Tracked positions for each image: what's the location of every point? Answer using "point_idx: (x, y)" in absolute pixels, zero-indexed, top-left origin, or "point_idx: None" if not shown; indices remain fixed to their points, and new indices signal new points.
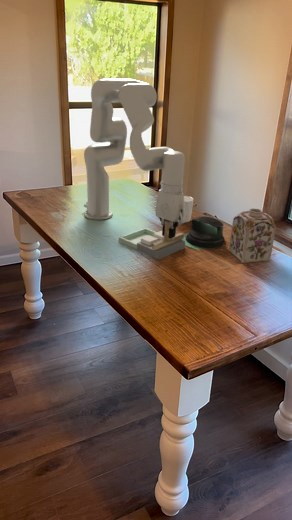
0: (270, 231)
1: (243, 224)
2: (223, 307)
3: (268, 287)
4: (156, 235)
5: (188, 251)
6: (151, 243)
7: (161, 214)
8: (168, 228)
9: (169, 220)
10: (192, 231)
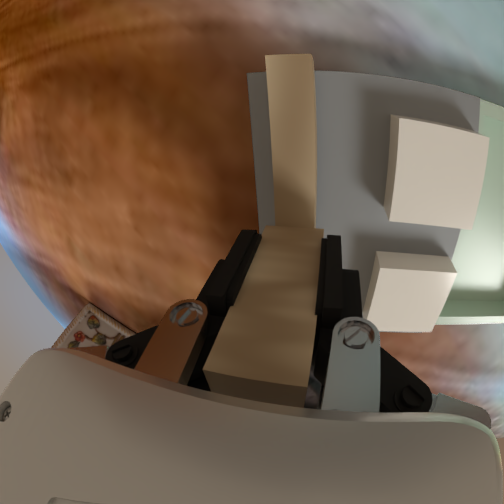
0: None
1: None
2: None
3: (7, 234)
4: (431, 267)
5: None
6: (392, 140)
7: (321, 496)
8: (251, 301)
9: (107, 367)
10: None
